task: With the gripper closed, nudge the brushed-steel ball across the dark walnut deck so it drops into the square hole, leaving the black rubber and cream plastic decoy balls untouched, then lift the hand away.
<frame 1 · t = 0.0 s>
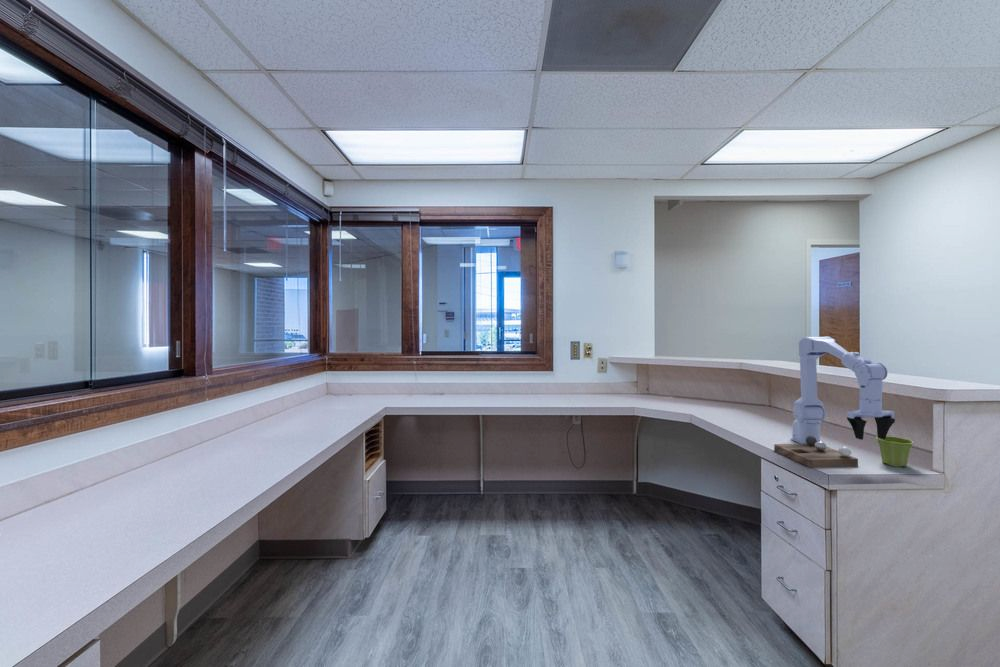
hand: (870, 438, 140), 10 cm above the worktop, fingers open, 7 cm apart
steel ball: (820, 446, 151), point 4 cm above the worktop, touching walnut deck
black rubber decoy: (811, 440, 158), point 4 cm above the worktop, touching walnut deck
cream plastic decoy: (844, 451, 145), point 4 cm above the worktop, touching walnut deck
plant pot: (894, 464, 143), on the worktop
walnut deck: (813, 457, 151), on the worktop
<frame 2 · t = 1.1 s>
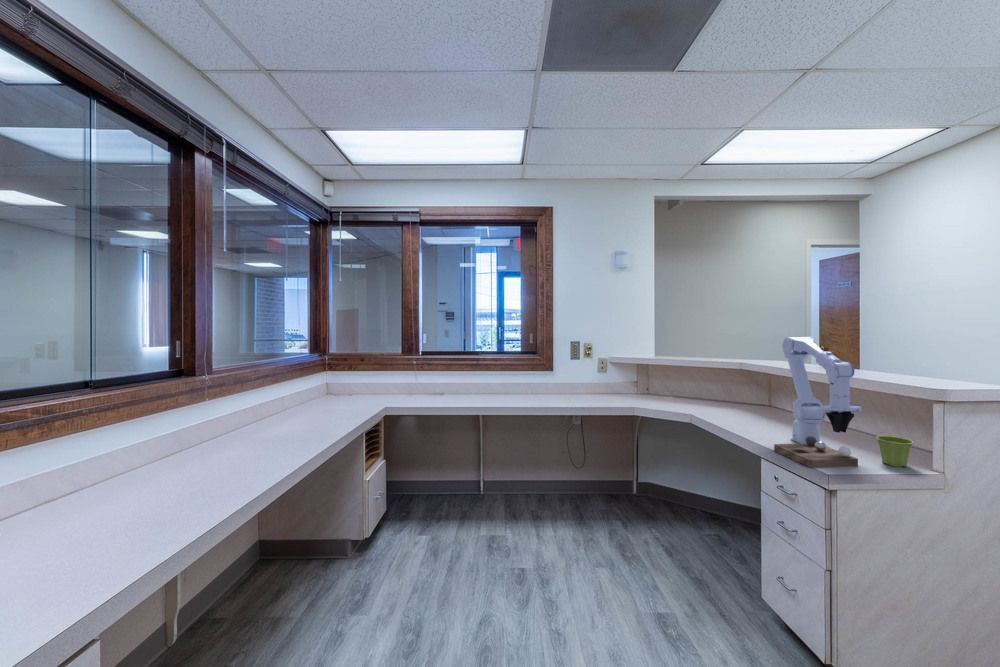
hand: (839, 431, 151), 9 cm above the worktop, fingers closed
nothing on the worktop moved.
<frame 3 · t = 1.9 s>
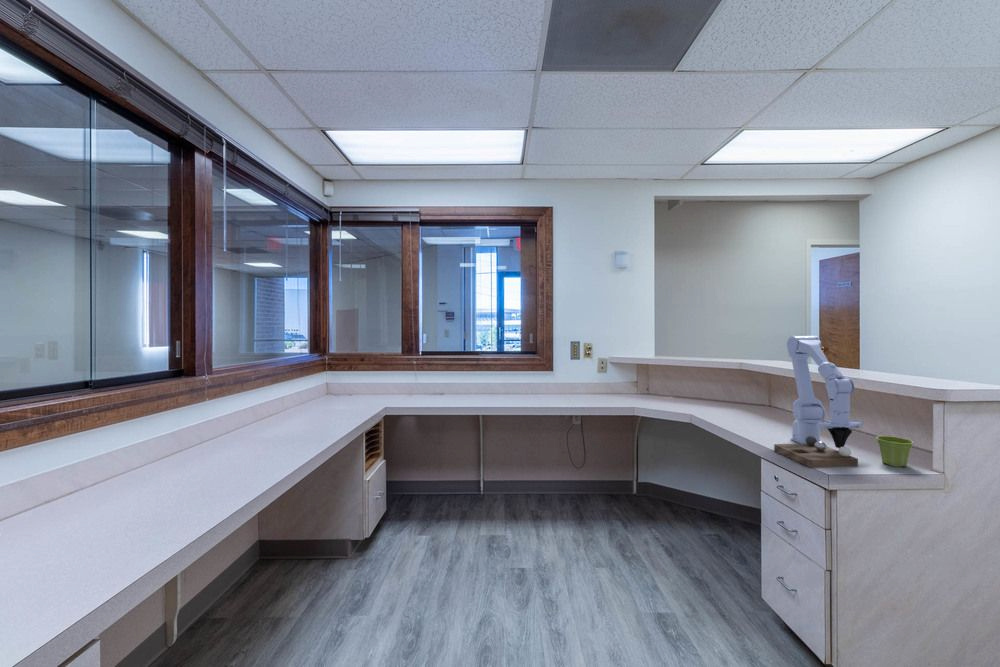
hand: (839, 447, 151), 4 cm above the worktop, fingers closed
nothing on the worktop moved.
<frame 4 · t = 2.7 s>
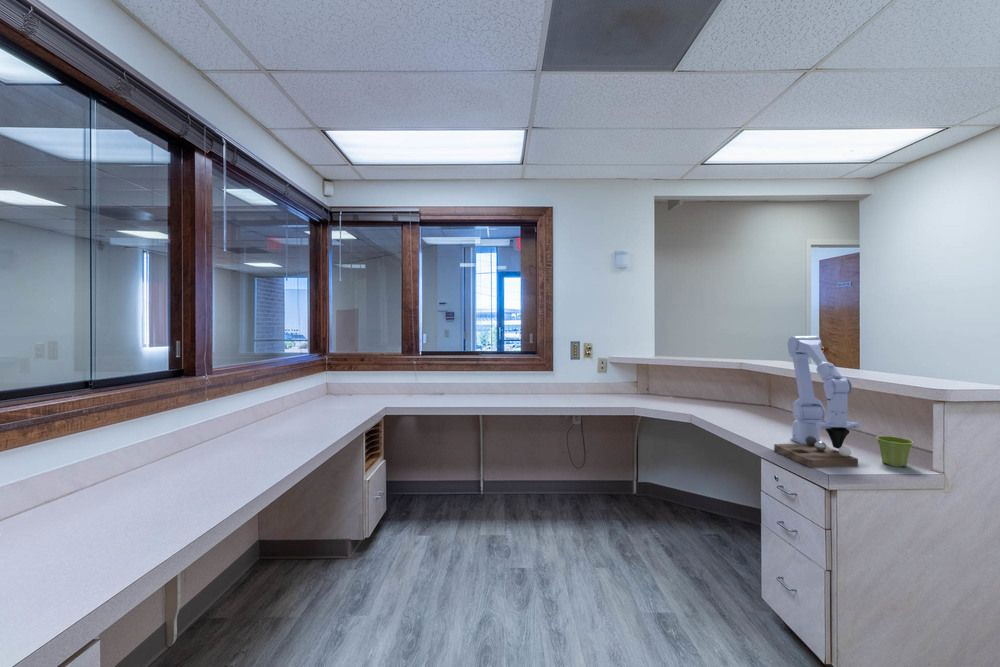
hand: (837, 447, 151), 4 cm above the worktop, fingers closed
nothing on the worktop moved.
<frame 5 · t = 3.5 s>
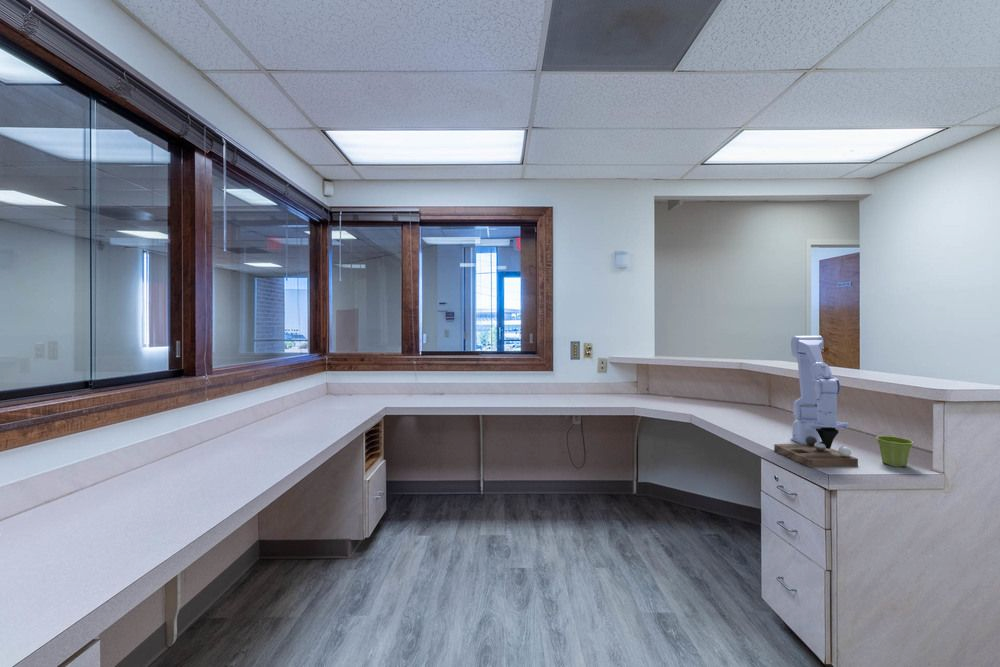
hand: (826, 447, 151), 4 cm above the worktop, fingers closed, pressing on steel ball
steel ball: (820, 446, 151), point 4 cm above the worktop, touching gripper, walnut deck
everything else where it was.
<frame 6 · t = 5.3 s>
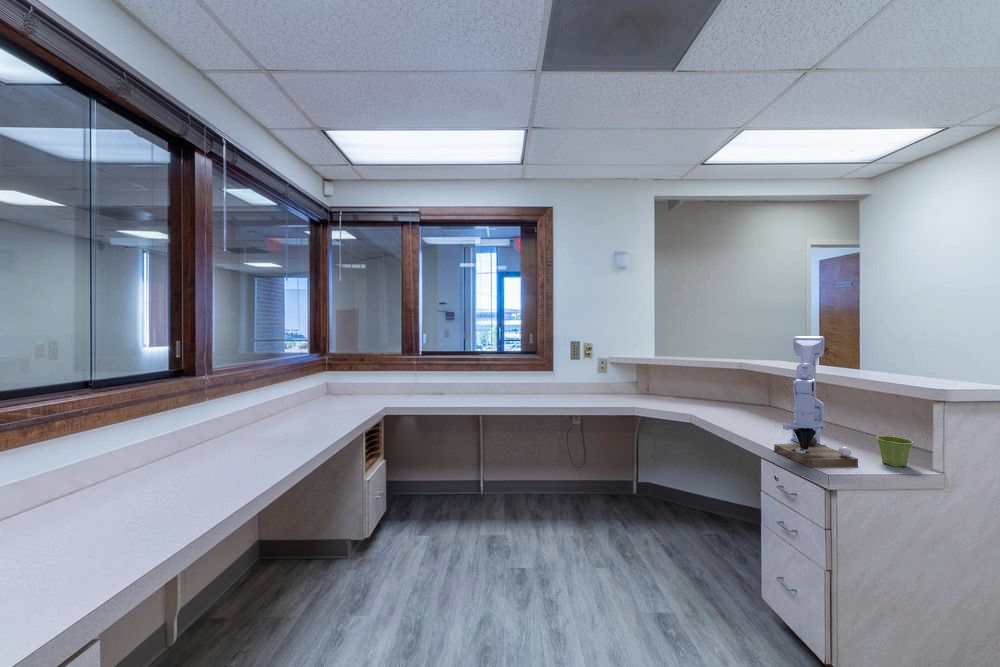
hand: (804, 448, 151), 4 cm above the worktop, fingers closed
steel ball: (800, 453, 152), point 2 cm above the worktop, tilted 143°
everything else where it was.
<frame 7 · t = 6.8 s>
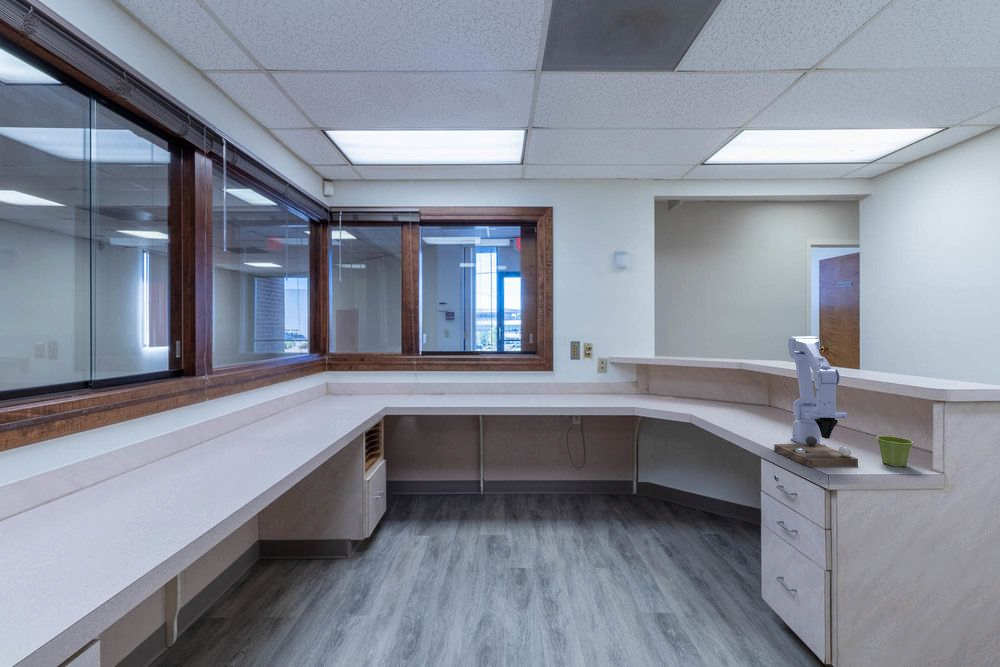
hand: (825, 437, 153), 7 cm above the worktop, fingers closed
nothing on the worktop moved.
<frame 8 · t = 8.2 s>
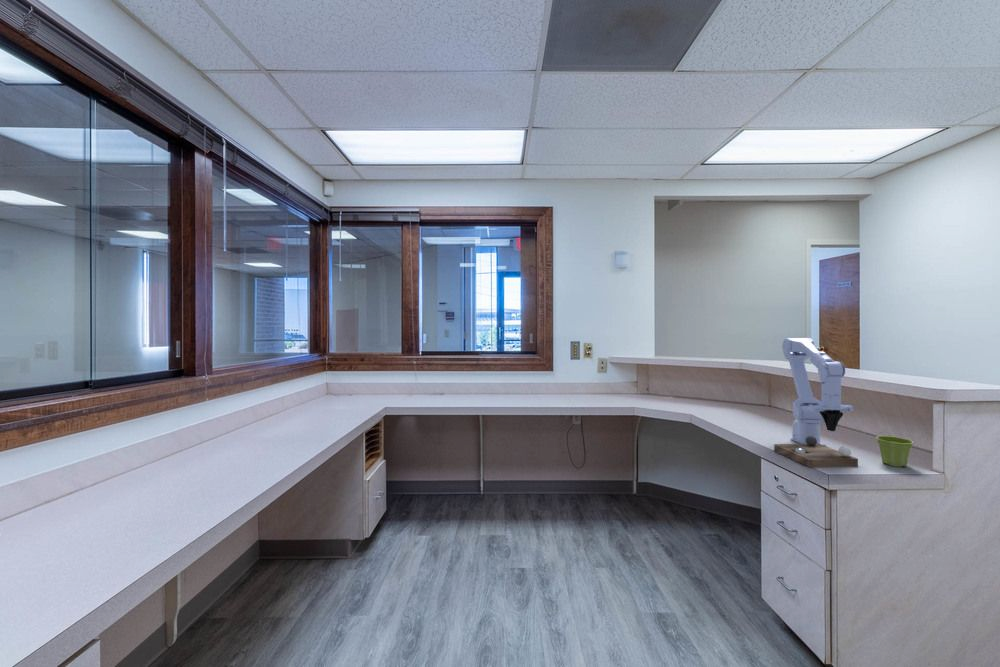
hand: (831, 430, 153), 9 cm above the worktop, fingers closed
nothing on the worktop moved.
at the end: steel ball 0.5 cm from the target spot on the walnut deck, point 1.7 cm above the walnut deck's base; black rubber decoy moved 0.1 cm from its start; cream plastic decoy moved 0.1 cm from its start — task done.
